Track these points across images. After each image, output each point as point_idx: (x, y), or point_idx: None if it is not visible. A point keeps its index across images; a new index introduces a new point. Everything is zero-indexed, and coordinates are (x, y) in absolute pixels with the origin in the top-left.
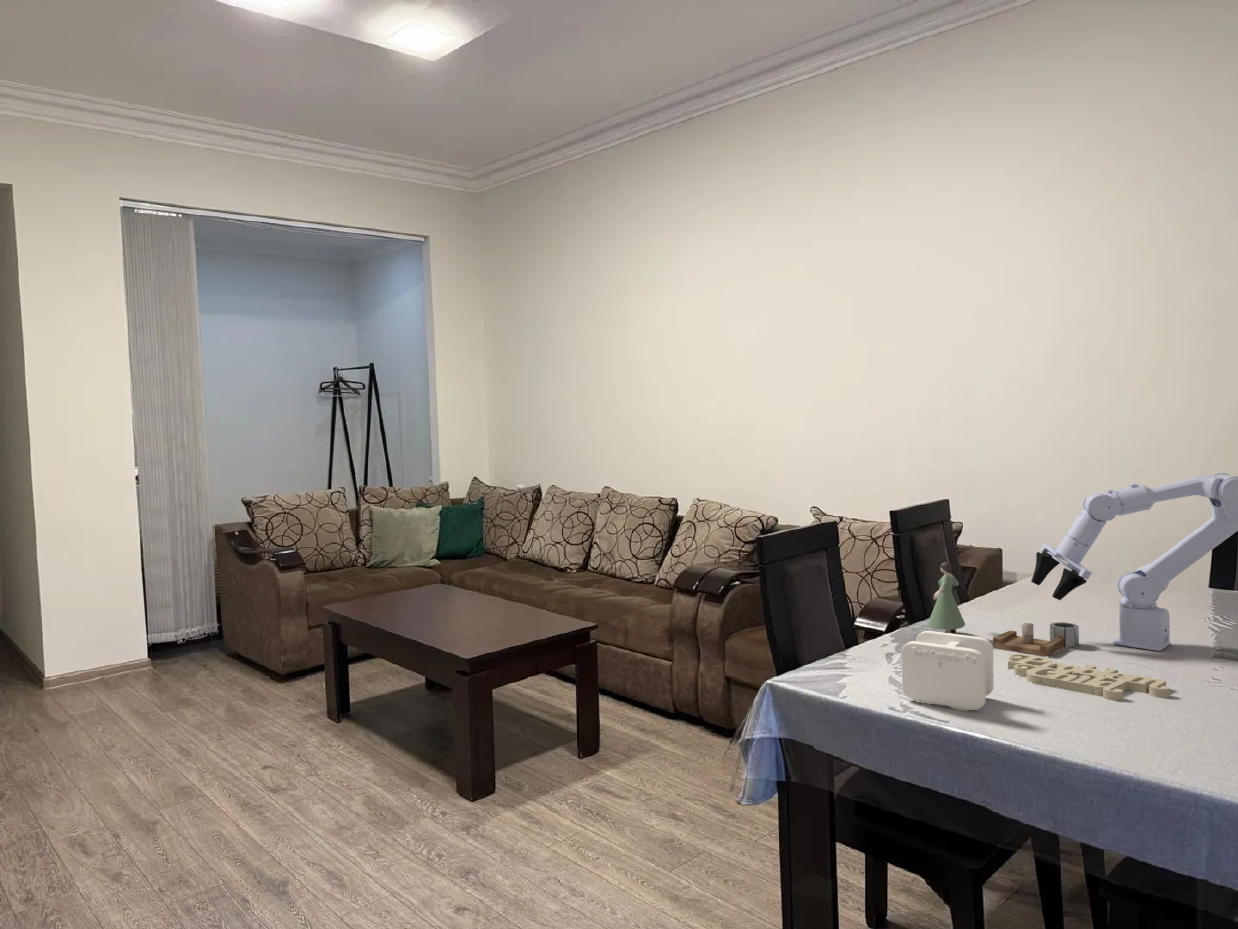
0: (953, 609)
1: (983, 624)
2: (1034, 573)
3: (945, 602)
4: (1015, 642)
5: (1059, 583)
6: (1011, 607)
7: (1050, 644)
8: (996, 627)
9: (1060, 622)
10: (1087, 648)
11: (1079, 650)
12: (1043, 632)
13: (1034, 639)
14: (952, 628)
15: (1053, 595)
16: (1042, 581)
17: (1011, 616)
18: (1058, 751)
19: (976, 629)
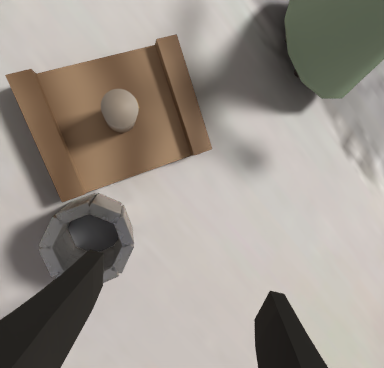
0: (344, 1)
1: (324, 209)
2: (304, 339)
3: None
4: (142, 92)
5: (42, 322)
6: (376, 363)
7: (28, 110)
8: (293, 213)
9: (122, 264)
10: (36, 253)
11: (31, 219)
12: (208, 273)
13: (138, 163)
14: (289, 5)
15: (93, 255)
16: (257, 352)
17: (333, 312)
18: None
19: (305, 160)
